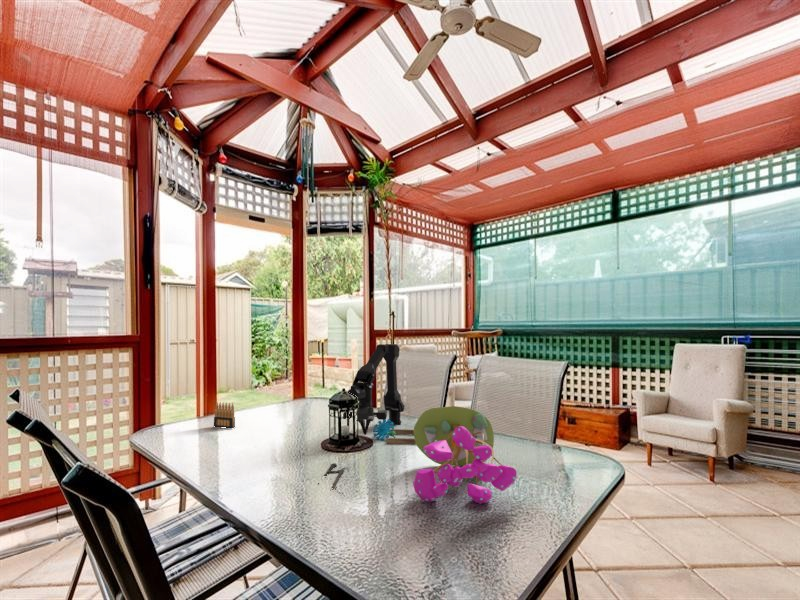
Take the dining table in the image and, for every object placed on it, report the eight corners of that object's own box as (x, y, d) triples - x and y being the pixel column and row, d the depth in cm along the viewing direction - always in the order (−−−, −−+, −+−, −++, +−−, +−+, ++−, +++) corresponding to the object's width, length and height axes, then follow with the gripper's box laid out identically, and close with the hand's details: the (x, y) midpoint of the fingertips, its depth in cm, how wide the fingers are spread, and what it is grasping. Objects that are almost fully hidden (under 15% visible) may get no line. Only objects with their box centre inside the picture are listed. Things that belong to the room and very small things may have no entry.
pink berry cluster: (487, 381, 128) (504, 423, 93) (509, 459, 129) (533, 528, 95) (404, 401, 132) (390, 448, 98) (426, 476, 134) (419, 549, 99)
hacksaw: (331, 466, 132) (331, 462, 132) (360, 468, 130) (360, 463, 130) (306, 498, 108) (306, 492, 108) (341, 500, 106) (341, 494, 107)
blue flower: (367, 434, 163) (380, 415, 168) (373, 441, 166) (385, 422, 172) (386, 442, 156) (399, 422, 161) (392, 449, 159) (404, 430, 165)
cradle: (389, 433, 169) (389, 426, 169) (433, 434, 168) (433, 427, 168) (386, 443, 155) (386, 436, 155) (435, 444, 154) (435, 437, 154)
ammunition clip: (213, 427, 179) (214, 402, 180) (216, 426, 181) (217, 401, 182) (232, 429, 176) (233, 403, 177) (235, 428, 178) (235, 402, 179)
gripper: (340, 402, 156) (340, 440, 155) (384, 402, 155) (384, 440, 154) (345, 396, 167) (345, 432, 167) (387, 397, 166) (387, 432, 165)
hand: (365, 434), depth 163 cm, fingers closed
